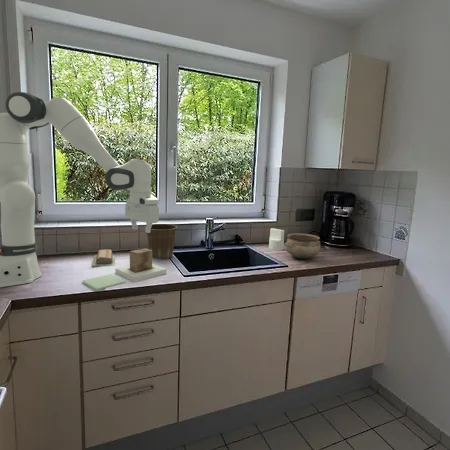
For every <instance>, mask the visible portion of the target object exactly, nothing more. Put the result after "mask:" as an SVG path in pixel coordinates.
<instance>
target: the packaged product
mask: <svg viewBox="0 0 450 450" xmlns="http://www.w3.org/2000/svg"><path fill="white" fill-rule="evenodd" d="M115 264H116V255H115V254H113V250H112V249H109V248H107V249H105V248H104V249H103V248H102V249H98V251H97V254H94V256H93V261H92V264H91V267H92V268H93V269H94V268H101V267H111V266H115Z"/></svg>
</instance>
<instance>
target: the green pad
mask: <svg viewBox="0 0 450 450" xmlns="http://www.w3.org/2000/svg"><path fill="white" fill-rule="evenodd" d="M126 282H127V281H126V280H124V279H123V278H120V277H118V276H116V275H114V274H112V273H109V274H105V275H100V276H96V277H91V278H87V279H82V281H81V283H82V284H84V285H85V286H87V287H88V288H91V289H92V290H94V291H95V292H98V291H99V292H100V291H103V290H106V289H107V288H110V287H114V286H118V285H122V284H125V283H126Z"/></svg>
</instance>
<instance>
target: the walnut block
mask: <svg viewBox="0 0 450 450" xmlns="http://www.w3.org/2000/svg"><path fill="white" fill-rule="evenodd" d="M152 264H153V258H152V250H149V248H145V247H144V248H140V249H135V250H130V251H129V265H130V271H132V272H134V273H138V272H142V271H146V270H150V269H152Z"/></svg>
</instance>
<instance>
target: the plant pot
mask: <svg viewBox="0 0 450 450" xmlns="http://www.w3.org/2000/svg"><path fill="white" fill-rule="evenodd" d="M146 227H147V225H146V226H145V227H144V229H145V228H146ZM177 228H178V226H177V225H174V224H168V223H152V227H151V232H150V233H146V235H147V245H148V249H149V250H152V259H161V260H166V259H170V258H172V257H173V255H174V246H175V236H176V232H177V230H176V229H177Z"/></svg>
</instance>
